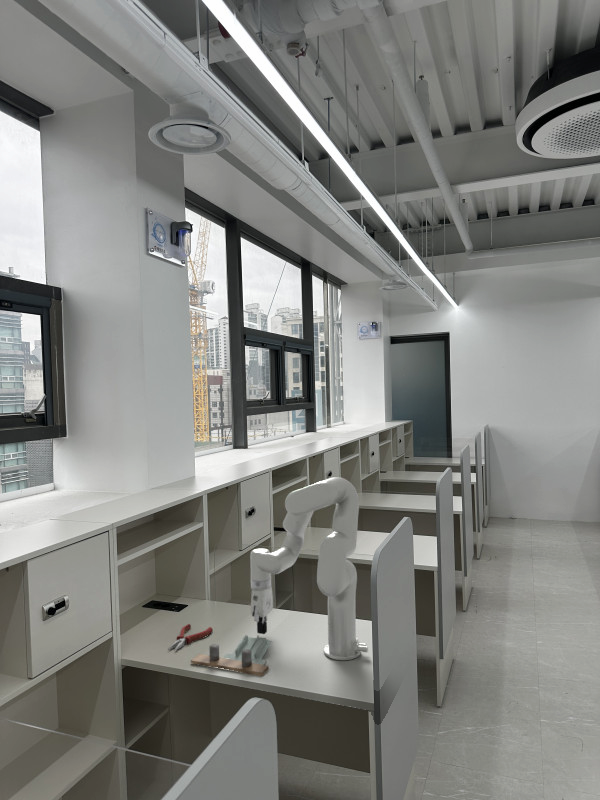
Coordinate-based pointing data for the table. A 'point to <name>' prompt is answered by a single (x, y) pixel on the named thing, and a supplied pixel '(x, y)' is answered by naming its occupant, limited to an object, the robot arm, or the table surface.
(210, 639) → the table surface
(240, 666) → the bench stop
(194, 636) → the pliers
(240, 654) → the metal bracket
